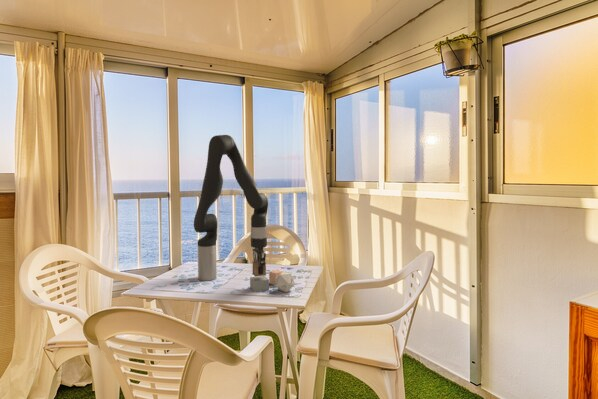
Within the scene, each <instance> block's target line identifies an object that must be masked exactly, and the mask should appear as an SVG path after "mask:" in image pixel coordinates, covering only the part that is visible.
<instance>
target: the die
mask: <svg viewBox="0 0 598 399" xmlns="http://www.w3.org/2000/svg"><path fill="white" fill-rule="evenodd" d="M274 280H275V282H276V287H277V290H278V291H280V292H285V293H288V292H289V291H290V290H291V289H292V288H293V287H294V286H296V283H295V281H294V277H293V275H292V273H290V272H286V271H283V272H282V273H281V274H280V275H279V276H278V277H276V278H275V279H274Z"/></svg>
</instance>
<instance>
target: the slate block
mask: <svg viewBox="0 0 598 399" xmlns="http://www.w3.org/2000/svg"><path fill="white" fill-rule="evenodd" d="M249 288H250V289H251V290H252V291H253V292H254V293H255V292H256V293H257V292H263V291H270V284H269V277H268V278H267V277H266V276H256V277H255V276H253V277H252V276H251V277H249Z"/></svg>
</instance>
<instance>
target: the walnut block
mask: <svg viewBox="0 0 598 399" xmlns="http://www.w3.org/2000/svg"><path fill="white" fill-rule="evenodd" d="M261 263H262V261H261ZM252 275H253V277H259V276H265V277H266V276H267V263H266V261H265V266H263V274H258V262H257V261H254V260H252Z"/></svg>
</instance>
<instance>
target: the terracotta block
mask: <svg viewBox="0 0 598 399" xmlns="http://www.w3.org/2000/svg"><path fill="white" fill-rule="evenodd" d="M282 272H284V271H283V270H279V269H275V270H269V272H268V279H269V285H272V286H276V287H277V285H276V282H275V280H274V279H275V278H276V277H278V276H279V275H280V274H281V273H282Z"/></svg>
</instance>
